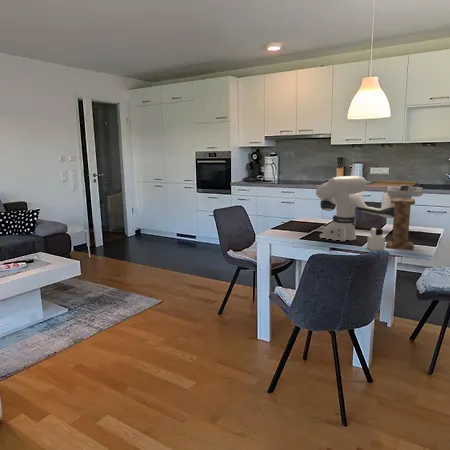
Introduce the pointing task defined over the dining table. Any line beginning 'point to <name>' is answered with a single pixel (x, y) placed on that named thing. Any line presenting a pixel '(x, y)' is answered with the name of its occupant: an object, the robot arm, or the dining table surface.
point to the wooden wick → (404, 187)
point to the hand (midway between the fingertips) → (404, 186)
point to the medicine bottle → (376, 240)
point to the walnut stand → (401, 224)
